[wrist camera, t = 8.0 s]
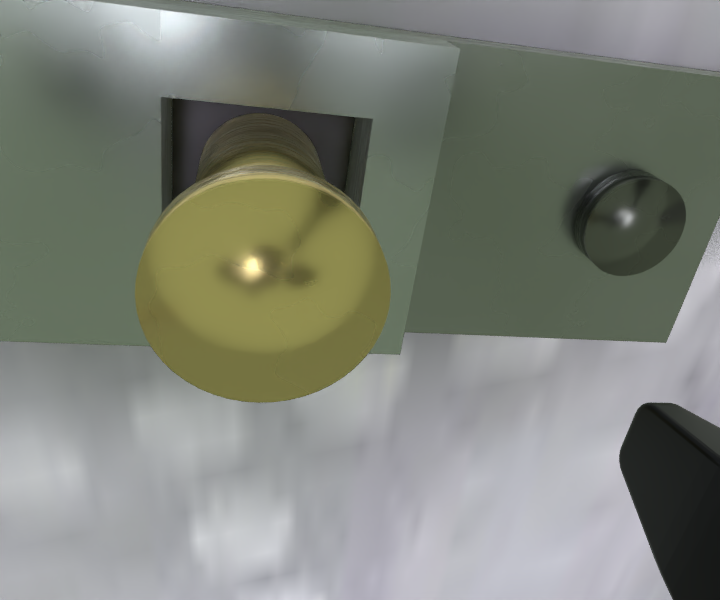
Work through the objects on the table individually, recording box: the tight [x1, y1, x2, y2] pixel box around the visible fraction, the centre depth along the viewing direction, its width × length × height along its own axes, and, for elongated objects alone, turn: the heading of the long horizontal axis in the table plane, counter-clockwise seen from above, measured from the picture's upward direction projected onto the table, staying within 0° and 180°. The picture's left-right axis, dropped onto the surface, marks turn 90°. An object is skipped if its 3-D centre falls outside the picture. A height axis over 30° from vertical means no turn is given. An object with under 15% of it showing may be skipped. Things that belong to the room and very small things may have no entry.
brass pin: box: [135, 113, 391, 403], centre depth 14 cm, size 4×4×7 cm
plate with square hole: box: [0, 0, 720, 354], centre depth 16 cm, size 26×8×3 cm, turn 82°
